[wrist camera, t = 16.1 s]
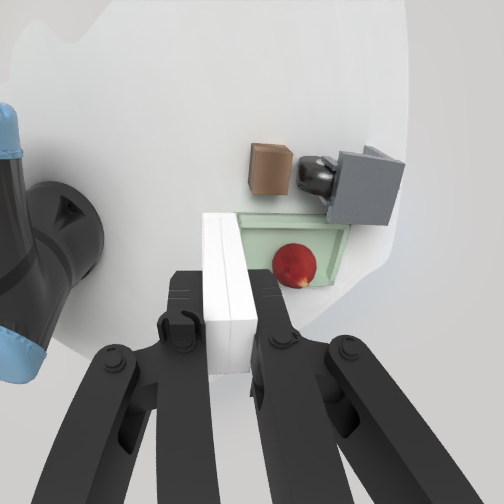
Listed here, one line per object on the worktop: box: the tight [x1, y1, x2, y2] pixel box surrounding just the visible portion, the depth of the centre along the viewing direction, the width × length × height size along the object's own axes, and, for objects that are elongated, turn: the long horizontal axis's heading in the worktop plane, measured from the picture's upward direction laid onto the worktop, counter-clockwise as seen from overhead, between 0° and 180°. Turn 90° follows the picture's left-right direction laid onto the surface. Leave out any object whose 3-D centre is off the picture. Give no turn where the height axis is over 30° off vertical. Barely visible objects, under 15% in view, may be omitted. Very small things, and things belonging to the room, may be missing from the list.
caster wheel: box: [296, 146, 405, 226], centre depth 34 cm, size 11×8×8 cm
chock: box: [248, 143, 293, 195], centre depth 34 cm, size 4×5×4 cm
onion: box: [272, 243, 317, 289], centre depth 39 cm, size 6×6×8 cm
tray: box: [236, 213, 351, 287], centre depth 41 cm, size 16×11×2 cm
